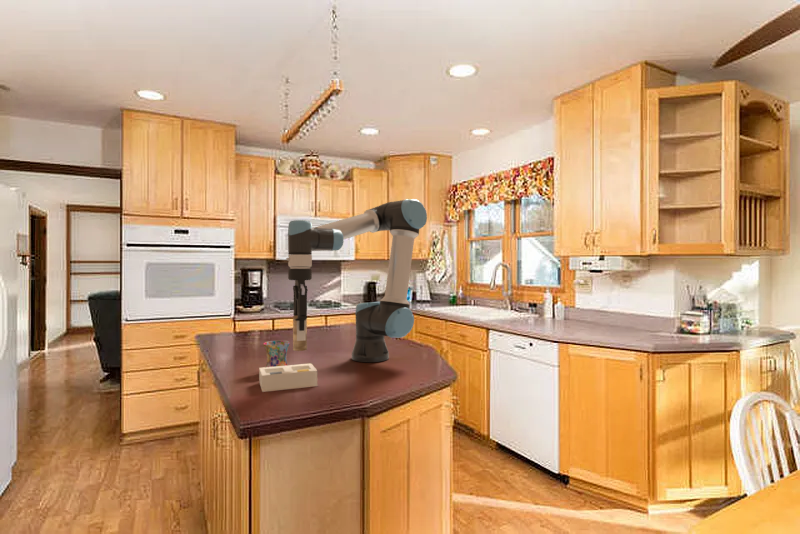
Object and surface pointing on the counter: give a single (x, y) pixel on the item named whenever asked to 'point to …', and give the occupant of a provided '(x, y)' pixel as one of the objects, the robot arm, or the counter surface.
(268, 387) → the socket block
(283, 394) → the counter surface
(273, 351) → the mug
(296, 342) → the peg
